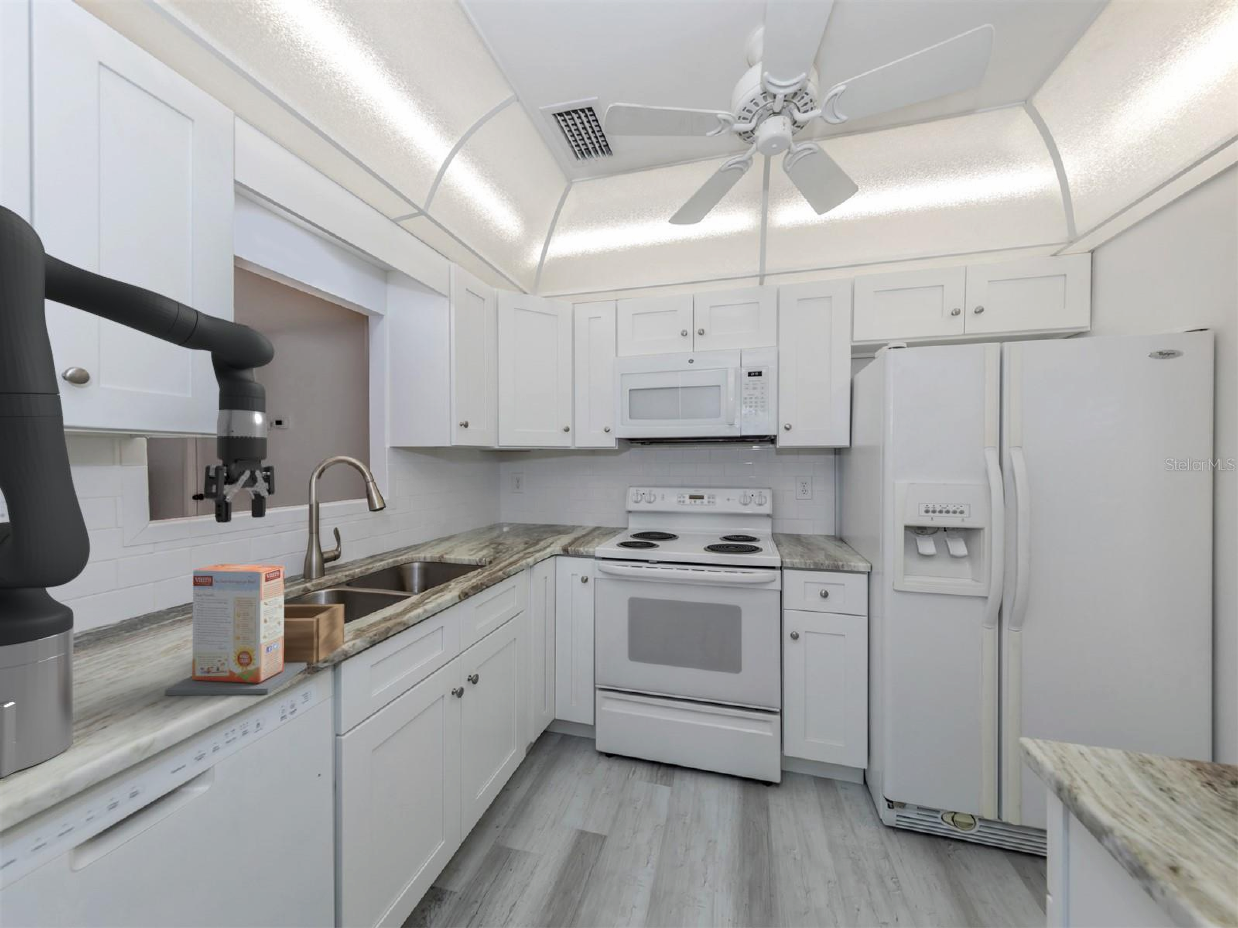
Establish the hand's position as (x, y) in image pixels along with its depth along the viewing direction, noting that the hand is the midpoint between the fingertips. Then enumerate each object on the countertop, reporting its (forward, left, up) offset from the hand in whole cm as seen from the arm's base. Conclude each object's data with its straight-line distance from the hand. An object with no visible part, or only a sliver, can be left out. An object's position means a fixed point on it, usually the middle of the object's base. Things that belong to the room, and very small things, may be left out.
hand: (241, 519), depth 89 cm
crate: (+13, 0, -31) cm, 33 cm away
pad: (0, 0, -31) cm, 31 cm away
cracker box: (0, 0, -30) cm, 30 cm away
